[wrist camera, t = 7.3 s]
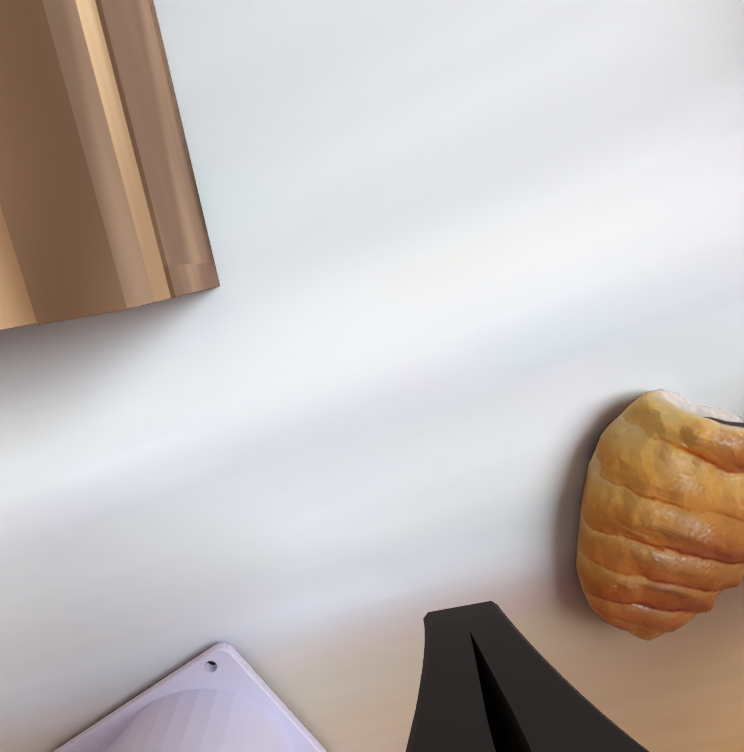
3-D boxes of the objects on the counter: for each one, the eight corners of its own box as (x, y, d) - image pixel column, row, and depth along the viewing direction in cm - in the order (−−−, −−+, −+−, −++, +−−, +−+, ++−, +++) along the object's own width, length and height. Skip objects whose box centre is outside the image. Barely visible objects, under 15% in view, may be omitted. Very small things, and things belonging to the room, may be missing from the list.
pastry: (680, 623, 23) (745, 694, 19) (530, 590, 22) (566, 657, 19) (770, 415, 21) (861, 449, 17) (608, 373, 20) (666, 399, 17)
